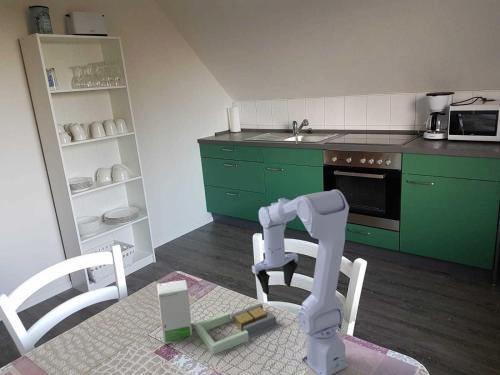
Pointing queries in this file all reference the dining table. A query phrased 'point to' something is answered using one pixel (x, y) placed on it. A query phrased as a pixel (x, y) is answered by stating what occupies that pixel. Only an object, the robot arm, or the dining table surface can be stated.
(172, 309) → the skincare box
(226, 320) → the green and grey tray
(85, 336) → the dining table surface
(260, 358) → the dining table surface
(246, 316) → the chip
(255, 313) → the chip
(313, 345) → the robot arm
